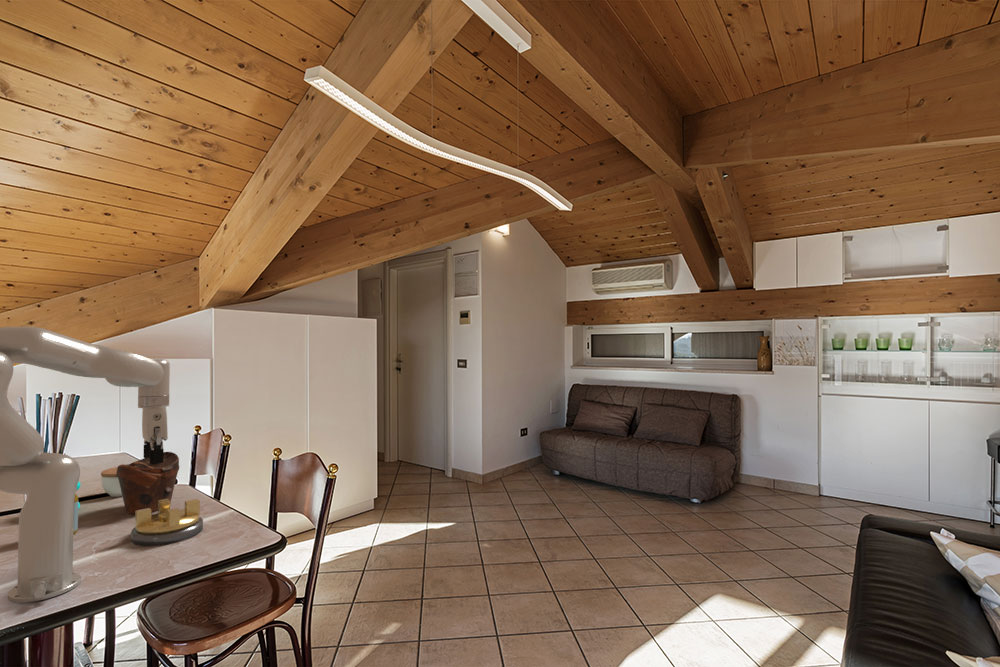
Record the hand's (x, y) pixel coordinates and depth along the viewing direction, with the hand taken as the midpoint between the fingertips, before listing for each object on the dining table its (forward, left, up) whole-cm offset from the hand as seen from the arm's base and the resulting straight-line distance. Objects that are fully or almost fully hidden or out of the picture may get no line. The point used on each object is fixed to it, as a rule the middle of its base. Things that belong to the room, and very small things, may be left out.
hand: (153, 460), depth 145 cm
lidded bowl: (+61, -1, -24) cm, 66 cm away
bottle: (+23, +18, -24) cm, 38 cm away
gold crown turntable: (+3, -5, -21) cm, 21 cm away
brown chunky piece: (+35, -5, -24) cm, 43 cm away
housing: (+3, -5, -23) cm, 24 cm away
